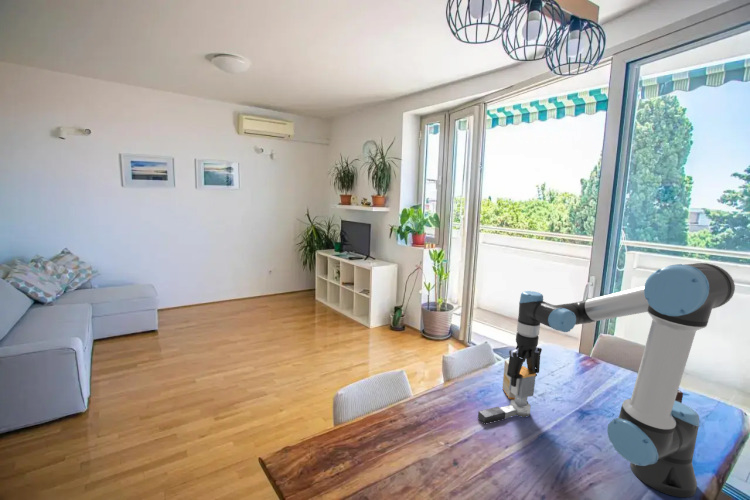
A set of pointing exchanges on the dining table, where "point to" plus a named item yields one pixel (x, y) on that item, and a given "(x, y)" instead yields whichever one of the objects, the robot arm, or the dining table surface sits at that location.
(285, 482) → the dining table surface
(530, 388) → the grey orange-topped block
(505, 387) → the supplement box
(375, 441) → the dining table surface
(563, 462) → the dining table surface
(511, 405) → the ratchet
